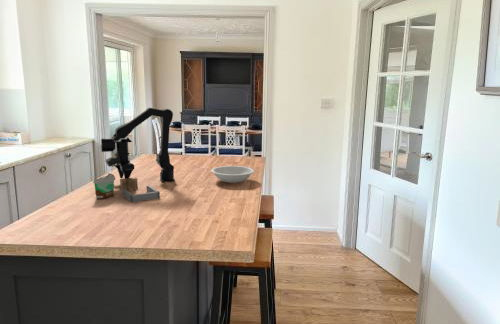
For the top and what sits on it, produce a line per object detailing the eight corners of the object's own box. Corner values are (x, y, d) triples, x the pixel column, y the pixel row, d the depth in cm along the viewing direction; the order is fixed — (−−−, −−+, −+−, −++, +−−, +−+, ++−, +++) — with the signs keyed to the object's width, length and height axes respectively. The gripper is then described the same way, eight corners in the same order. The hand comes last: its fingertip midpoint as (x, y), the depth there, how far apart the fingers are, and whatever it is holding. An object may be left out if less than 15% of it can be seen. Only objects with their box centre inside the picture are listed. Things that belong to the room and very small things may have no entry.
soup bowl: (245, 189, 190) (245, 176, 189) (203, 184, 198) (203, 172, 197) (259, 179, 212) (260, 167, 211) (222, 175, 220) (222, 164, 219)
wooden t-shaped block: (136, 186, 191) (135, 177, 190) (141, 190, 185) (140, 180, 184) (120, 188, 187) (120, 179, 186) (125, 192, 180) (124, 182, 179)
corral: (149, 191, 183) (149, 185, 182) (159, 197, 172) (159, 191, 171) (122, 195, 175) (121, 188, 175) (131, 202, 164) (130, 196, 164)
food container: (106, 201, 165) (105, 179, 163) (94, 200, 167) (93, 178, 165) (121, 193, 177) (120, 173, 175) (109, 193, 178) (108, 173, 176)
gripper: (101, 149, 194) (103, 178, 197) (111, 154, 179) (113, 185, 182) (123, 148, 200) (124, 175, 203) (134, 153, 185) (135, 182, 188)
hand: (123, 179), depth 194 cm, fingers open, 9 cm apart
